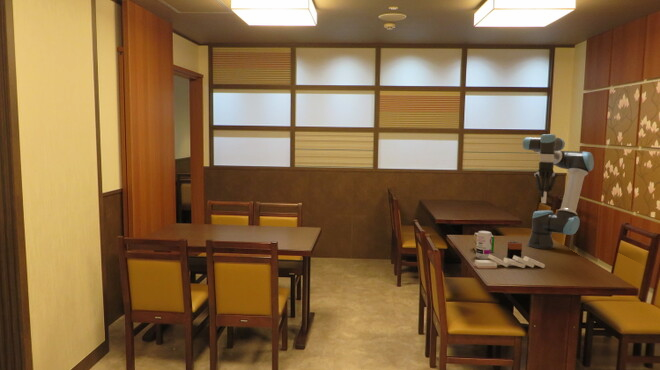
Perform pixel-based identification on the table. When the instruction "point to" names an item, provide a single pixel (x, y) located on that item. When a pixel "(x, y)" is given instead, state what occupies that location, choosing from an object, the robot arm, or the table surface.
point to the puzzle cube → (476, 242)
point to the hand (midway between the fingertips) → (543, 202)
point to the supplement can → (483, 244)
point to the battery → (514, 249)
